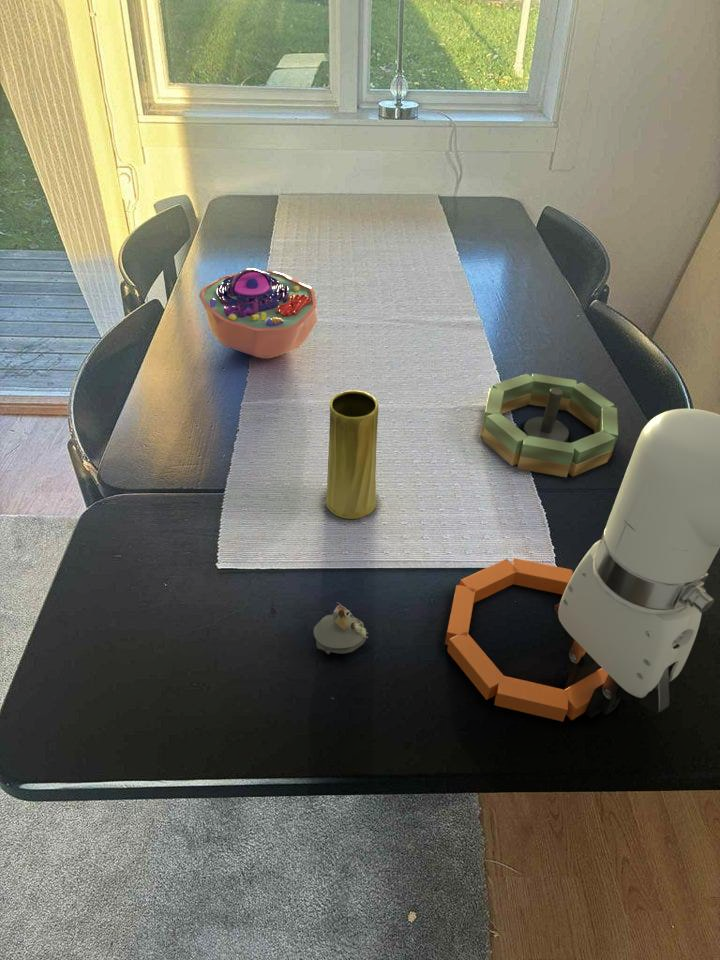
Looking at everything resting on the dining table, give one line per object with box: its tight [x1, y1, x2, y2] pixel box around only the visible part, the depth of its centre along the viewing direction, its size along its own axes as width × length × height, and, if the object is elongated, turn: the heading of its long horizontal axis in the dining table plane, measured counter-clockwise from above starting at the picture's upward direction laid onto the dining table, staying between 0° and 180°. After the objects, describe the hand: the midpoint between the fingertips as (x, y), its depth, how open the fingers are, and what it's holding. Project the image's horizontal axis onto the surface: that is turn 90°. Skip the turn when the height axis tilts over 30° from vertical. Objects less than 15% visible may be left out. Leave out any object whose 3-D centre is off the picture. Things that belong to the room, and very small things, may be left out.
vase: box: [325, 390, 379, 520], centre depth 79 cm, size 6×6×14 cm
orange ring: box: [444, 558, 608, 722], centre depth 69 cm, size 17×17×2 cm
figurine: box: [313, 602, 369, 655], centre depth 66 cm, size 5×4×6 cm
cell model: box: [198, 267, 318, 360], centre depth 107 cm, size 17×20×11 cm
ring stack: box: [480, 373, 619, 478], centre depth 93 cm, size 17×17×7 cm
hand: (588, 696), depth 65 cm, fingers closed on orange ring, 2 cm apart
